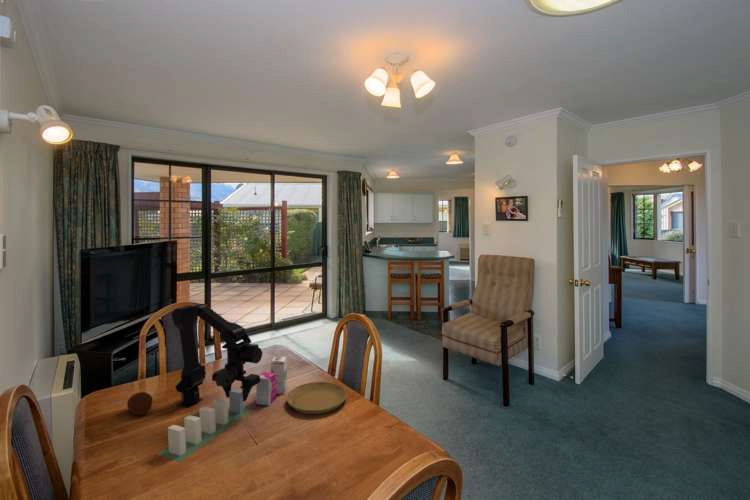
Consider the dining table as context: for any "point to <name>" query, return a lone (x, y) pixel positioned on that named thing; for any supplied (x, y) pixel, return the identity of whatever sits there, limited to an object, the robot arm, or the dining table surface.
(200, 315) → the robot arm
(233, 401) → the slate domino
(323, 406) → the plant saucer
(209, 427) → the domino
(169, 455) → the strip
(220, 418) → the domino
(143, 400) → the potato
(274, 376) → the supplement box
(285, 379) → the syrup box
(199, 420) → the domino
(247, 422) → the dining table surface
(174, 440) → the domino
